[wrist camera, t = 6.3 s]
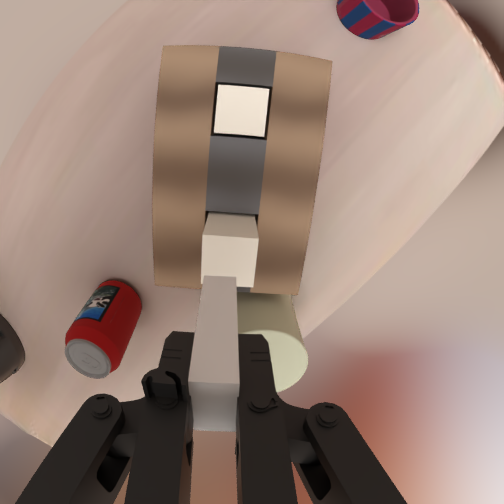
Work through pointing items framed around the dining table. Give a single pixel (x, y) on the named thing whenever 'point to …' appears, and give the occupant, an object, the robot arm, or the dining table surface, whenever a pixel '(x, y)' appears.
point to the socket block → (236, 160)
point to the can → (275, 333)
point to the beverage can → (103, 330)
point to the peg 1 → (241, 110)
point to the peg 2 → (230, 247)
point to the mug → (376, 16)
